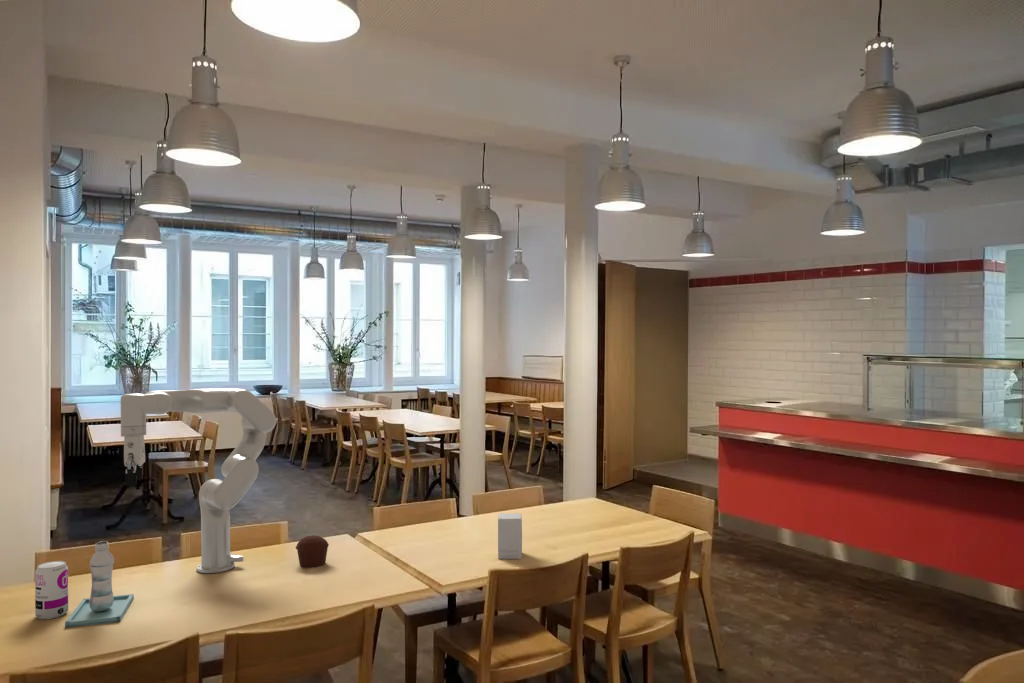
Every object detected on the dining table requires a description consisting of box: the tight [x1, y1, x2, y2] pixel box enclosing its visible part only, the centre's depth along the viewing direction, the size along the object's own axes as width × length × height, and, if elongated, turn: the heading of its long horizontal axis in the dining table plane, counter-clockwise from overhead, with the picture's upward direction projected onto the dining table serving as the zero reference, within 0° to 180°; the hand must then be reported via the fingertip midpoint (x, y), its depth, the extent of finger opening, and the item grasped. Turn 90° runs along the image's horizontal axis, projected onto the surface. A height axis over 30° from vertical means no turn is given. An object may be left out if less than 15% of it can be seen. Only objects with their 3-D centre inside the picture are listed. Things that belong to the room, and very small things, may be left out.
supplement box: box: [497, 512, 523, 560], centre depth 273 cm, size 9×9×15 cm
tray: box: [64, 593, 135, 629], centre depth 218 cm, size 14×20×2 cm
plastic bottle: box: [89, 541, 115, 612], centre depth 218 cm, size 6×7×20 cm
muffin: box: [295, 535, 330, 569], centre depth 264 cm, size 12×11×10 cm
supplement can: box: [34, 560, 69, 620], centre depth 216 cm, size 8×8×15 cm
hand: (134, 482), depth 241 cm, fingers open, 9 cm apart
